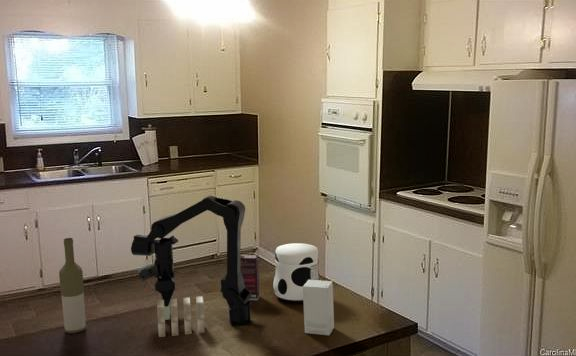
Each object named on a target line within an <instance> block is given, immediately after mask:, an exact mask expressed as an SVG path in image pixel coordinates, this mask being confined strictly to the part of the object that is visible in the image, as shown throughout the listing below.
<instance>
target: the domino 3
mask: <svg viewBox="0 0 576 356" xmlns="http://www.w3.org/2000/svg"><path fill="white" fill-rule="evenodd" d="M178 315H179V314H178V299H177V298H171V299H170V321H171V336H172V337H173V336H179V334H180V333H179V316H178Z"/></svg>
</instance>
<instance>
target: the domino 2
mask: <svg viewBox="0 0 576 356" xmlns="http://www.w3.org/2000/svg"><path fill="white" fill-rule="evenodd" d="M164 313H165V321H167V320H168V321H169V320H171V308H170V303H169V305H168V307H165V306H164Z"/></svg>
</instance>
